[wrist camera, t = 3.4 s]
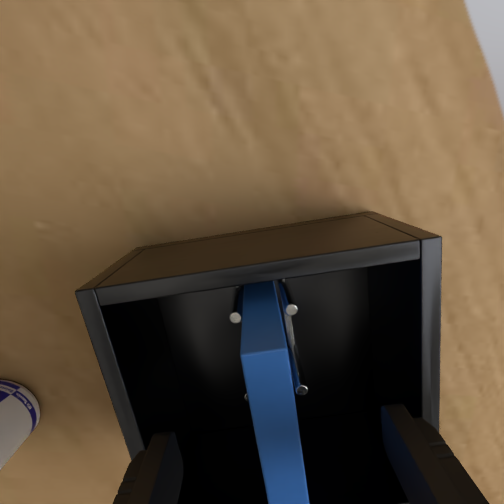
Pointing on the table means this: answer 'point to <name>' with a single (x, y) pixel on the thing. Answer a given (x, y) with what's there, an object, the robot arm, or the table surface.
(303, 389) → the rack
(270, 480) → the blue lid
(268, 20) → the table surface
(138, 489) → the robot arm
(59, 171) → the table surface
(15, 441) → the energy drink
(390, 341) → the black square open box
